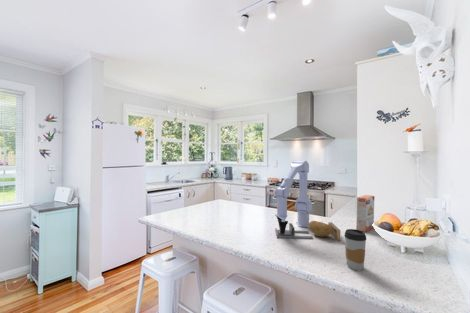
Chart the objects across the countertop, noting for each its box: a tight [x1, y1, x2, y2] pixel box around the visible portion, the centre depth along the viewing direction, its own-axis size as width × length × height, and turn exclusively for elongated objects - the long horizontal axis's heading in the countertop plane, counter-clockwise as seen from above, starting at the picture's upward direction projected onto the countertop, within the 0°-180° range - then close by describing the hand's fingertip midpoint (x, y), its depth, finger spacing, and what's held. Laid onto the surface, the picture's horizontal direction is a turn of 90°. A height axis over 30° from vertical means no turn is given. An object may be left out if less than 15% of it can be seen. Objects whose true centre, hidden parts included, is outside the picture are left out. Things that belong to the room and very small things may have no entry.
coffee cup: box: [343, 228, 367, 271], centre depth 96 cm, size 8×8×15 cm
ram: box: [277, 222, 295, 236], centre depth 134 cm, size 9×9×7 cm
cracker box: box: [356, 194, 375, 233], centre depth 144 cm, size 14×6×21 cm, turn 131°
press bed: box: [274, 221, 341, 242], centre depth 133 cm, size 14×34×6 cm, turn 85°
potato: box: [308, 220, 333, 238], centre depth 132 cm, size 10×14×8 cm
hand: (281, 230), depth 134 cm, fingers open, 7 cm apart
